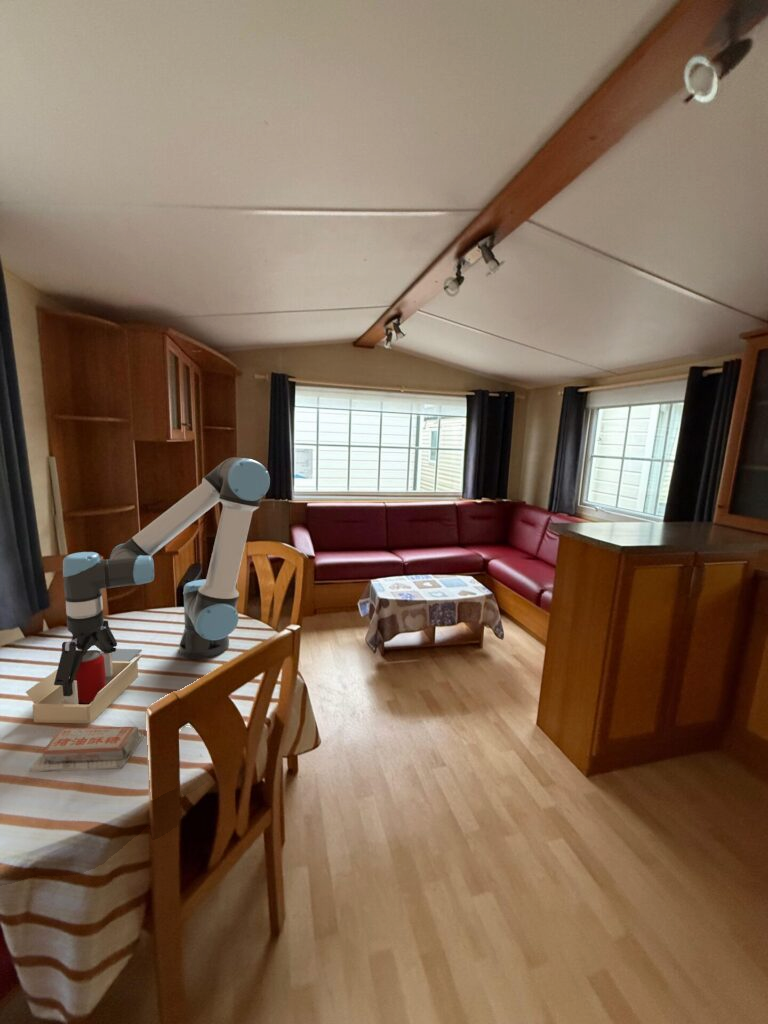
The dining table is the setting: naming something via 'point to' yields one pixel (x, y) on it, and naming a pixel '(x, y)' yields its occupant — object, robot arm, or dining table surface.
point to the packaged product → (89, 748)
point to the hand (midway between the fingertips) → (90, 689)
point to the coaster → (124, 654)
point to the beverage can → (90, 676)
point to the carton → (54, 712)
